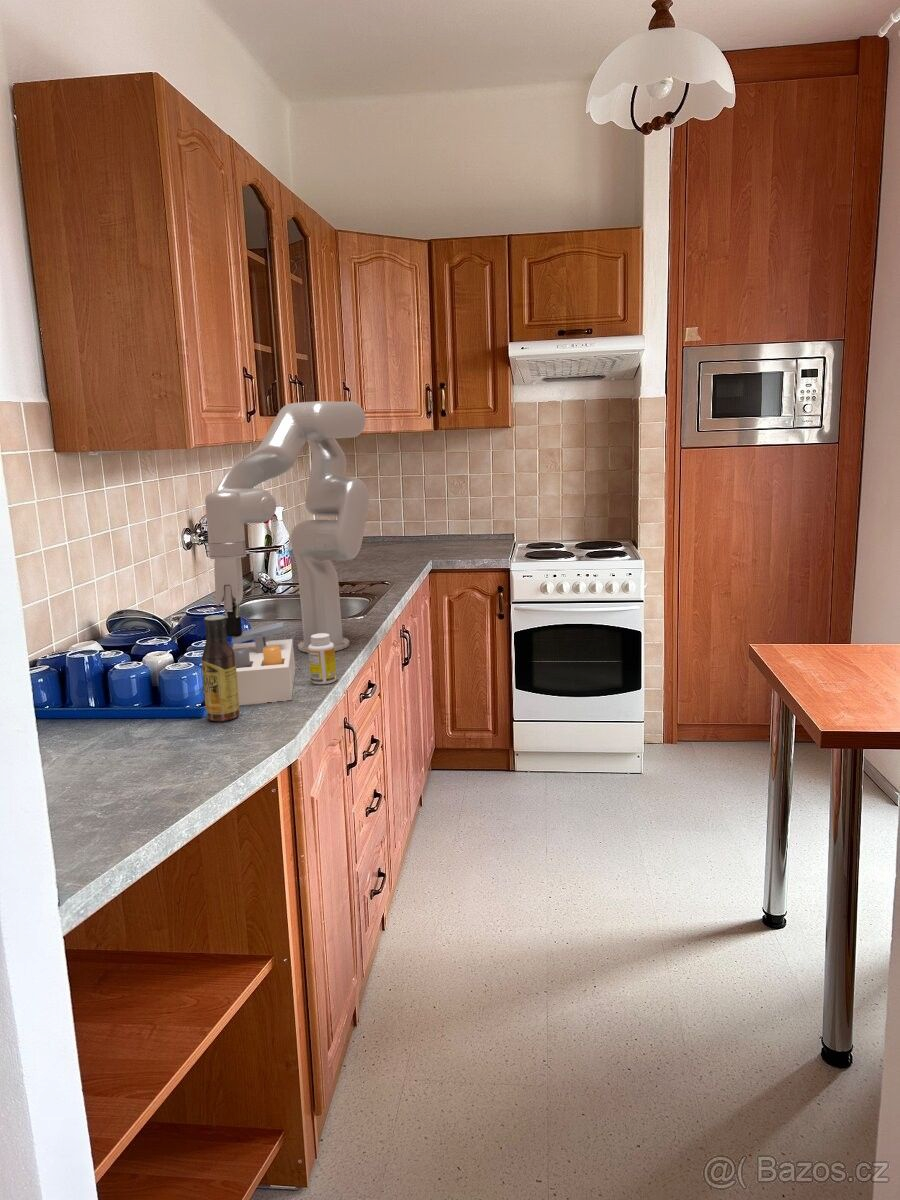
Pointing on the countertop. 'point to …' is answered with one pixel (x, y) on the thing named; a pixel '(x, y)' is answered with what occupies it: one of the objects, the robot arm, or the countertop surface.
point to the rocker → (259, 632)
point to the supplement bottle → (322, 659)
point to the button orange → (272, 655)
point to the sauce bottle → (219, 672)
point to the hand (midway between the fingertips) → (234, 635)
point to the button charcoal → (242, 657)
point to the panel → (266, 673)
